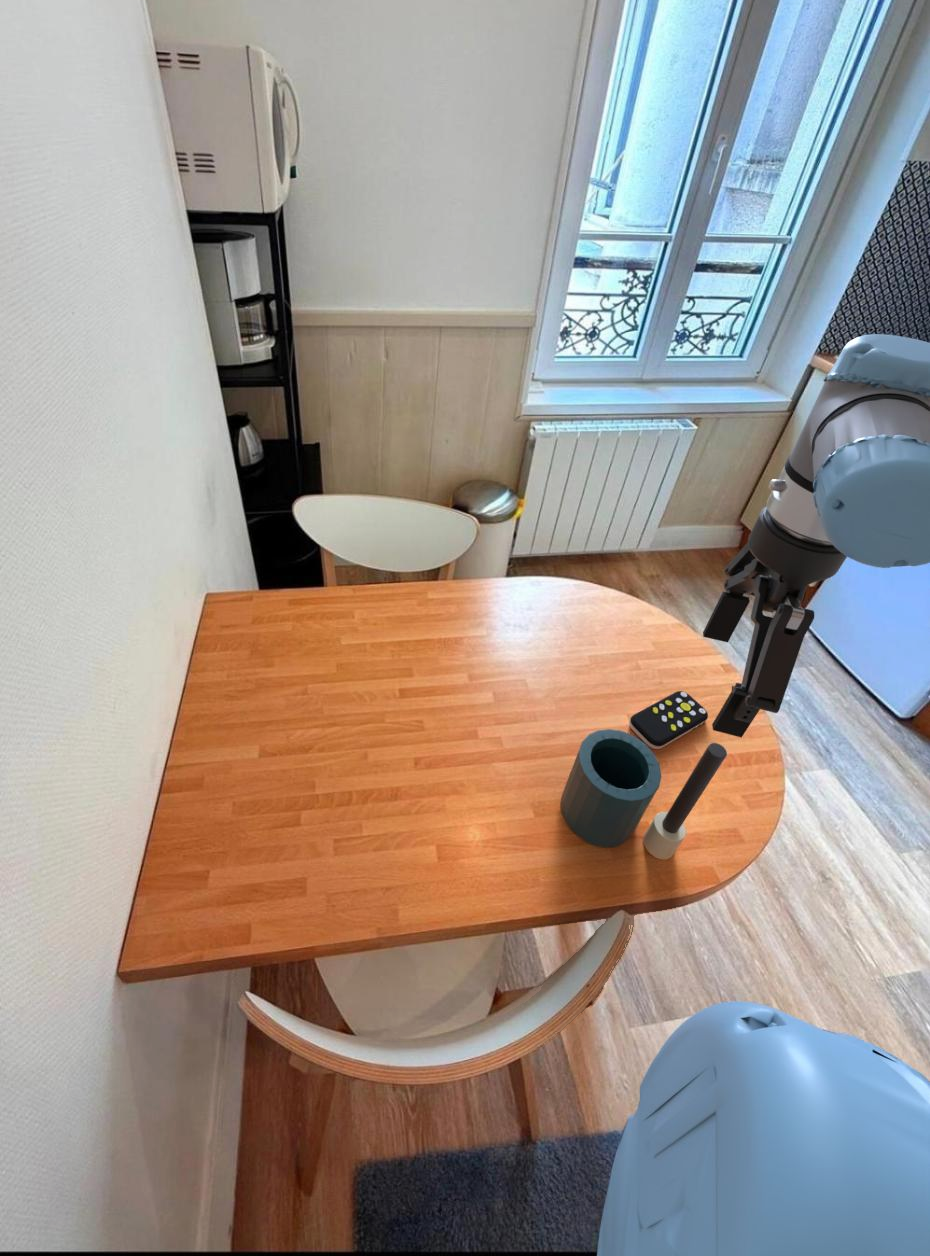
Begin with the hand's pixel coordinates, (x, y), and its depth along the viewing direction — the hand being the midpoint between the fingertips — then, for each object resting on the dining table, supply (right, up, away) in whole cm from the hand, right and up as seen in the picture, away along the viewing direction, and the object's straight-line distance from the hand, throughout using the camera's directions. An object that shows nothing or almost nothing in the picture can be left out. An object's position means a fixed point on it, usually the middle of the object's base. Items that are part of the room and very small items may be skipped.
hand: (720, 680), depth 66 cm
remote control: (+7, -13, +31) cm, 35 cm away
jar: (-8, -22, +19) cm, 30 cm away
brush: (0, -25, +16) cm, 30 cm away
